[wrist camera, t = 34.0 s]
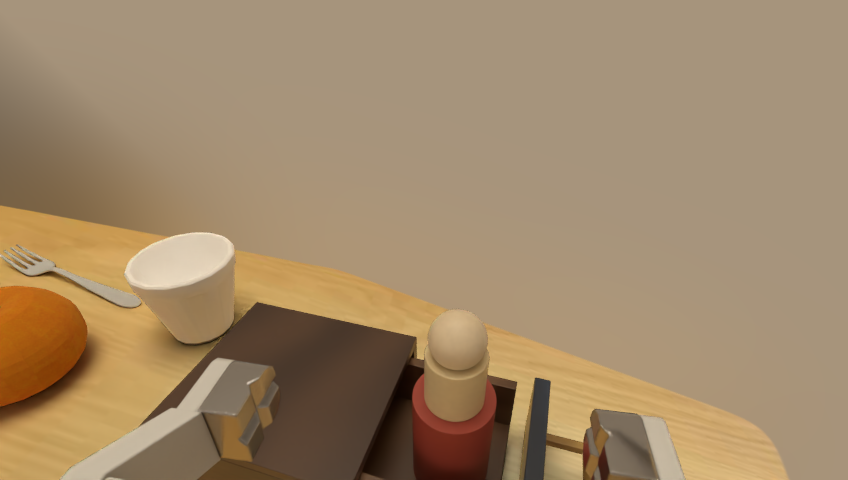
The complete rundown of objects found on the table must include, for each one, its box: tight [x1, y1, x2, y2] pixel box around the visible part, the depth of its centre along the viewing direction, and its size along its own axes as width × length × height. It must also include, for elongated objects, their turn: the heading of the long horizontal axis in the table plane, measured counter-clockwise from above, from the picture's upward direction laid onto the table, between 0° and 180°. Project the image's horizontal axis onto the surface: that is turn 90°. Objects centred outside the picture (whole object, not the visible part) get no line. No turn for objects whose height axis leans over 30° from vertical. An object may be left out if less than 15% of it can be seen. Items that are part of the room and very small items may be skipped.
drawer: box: [358, 357, 591, 480], centre depth 32 cm, size 19×12×6 cm, turn 73°
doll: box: [412, 309, 497, 480], centre depth 30 cm, size 6×6×15 cm
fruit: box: [0, 286, 88, 406], centre depth 41 cm, size 12×12×10 cm
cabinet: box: [139, 302, 417, 480], centre depth 36 cm, size 16×14×8 cm
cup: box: [124, 232, 236, 345], centre depth 47 cm, size 10×10×9 cm
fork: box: [0, 244, 141, 308], centre depth 56 cm, size 3×24×2 cm, turn 67°
